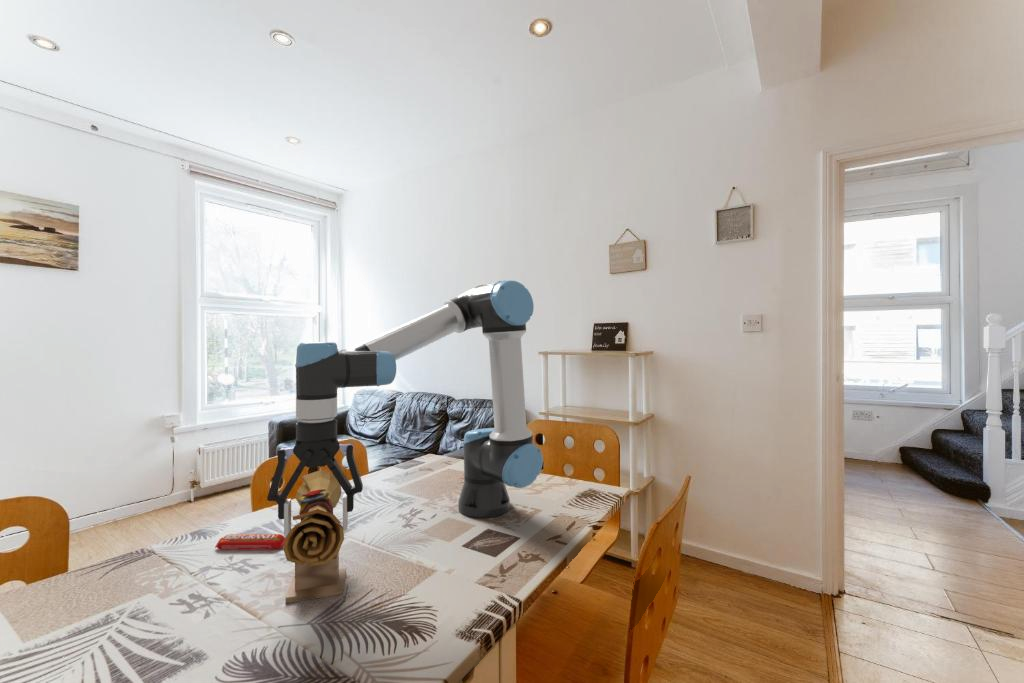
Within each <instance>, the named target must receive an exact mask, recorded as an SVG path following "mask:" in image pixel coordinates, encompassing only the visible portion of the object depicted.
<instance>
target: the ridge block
mask: <svg viewBox="0 0 1024 683" xmlns="http://www.w3.org/2000/svg"><path fill="white" fill-rule="evenodd" d="M339 556H340V552H339V553H338V554H337V555H336V556H335V557H334V558H333V559H331V560H330V561H329V562H328V563H327V564H321V565H314V566H308V563H307V562H304V564H303V565H300V564H296V563H294V575H293V577H292V580H291V583H290V584H289V588H288V591H287V593H286V596H285V604H289V603H296V602H301V601H307V600H313V599H319V598H325V597H330V596H331V597H332V596H337V595H344V588H345V582H346V575H347V568H346V567H343V568H340V567H339V565H340V561H339V558H340V557H339Z"/></svg>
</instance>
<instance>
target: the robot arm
mask: <svg viewBox="0 0 1024 683" xmlns="http://www.w3.org/2000/svg"><path fill="white" fill-rule="evenodd" d="M534 310H535V309H534V301H533V297H532V295H531V293H530V291H529V289H528V288H526V286H525V285H524V284H523V283H520V282H519V281H516V280H499V281H495V282H491V283H487V284H481V285H477V286H475V287H473V288H470V289H468V290H467V291H465V292H462V293H460V294H459V295H457V296H454V297H453V298H450V299H448V300H446V301H445V302H444V303H443V305H442V307H439V308H438V309H435V310H433V311H431V312H428V313H426V314H424V315H422V316H419V317H417V318H415V319H413V320H411V321H409V322H406V323H403V324H402V325H401V324H400V326H398V327H394V328H392V329H391V330H388V331H386V332H383V333H381V334H378V335H376V336H375V337H373V338H370V339H368V340H366V341H363V342H361V343H359V344H356V345H354V346H352V347H350V348H347V349H341V350H339V349H338V344H337V343H336V342H333V341H328V342H327V341H325V342H324V341H321V342H316V341H313V342H312V341H309V342H308V341H305V342H300V343H299V344H298V345H297V346H296V347H297V348H296V356H295V358H296V360H295V365H294V367H295V392H296V393H295V396H296V397H295V418H296V419H297V422H296V423H295V445H294V446H293V447H285V446H283V447H281V448H280V449H279V450H278V451H277V453H276V454H277V465H276V468H275V471H274V474H273V477H272V480H271V483H270V487H269V490H268V494H267V497H266V500H267V501H268V502H275V503H276V504H277V516H278V518H277V519H278V520H283V536H284V538H286V536H287V535H288V533H289V531H290V530H291V529H292V498H287V497H288V496H289V494H290V492H291V491H292V489H293V488H294V486H295V484H296V483H297V481H298V479H299V477H300V476H301V474H302V472H303V471H304V469H305V468H308V469H310V468H314V467H319V468H321V467H322V468H323V467H325V466H326V467H327V468H328V470H329V471H330V472H331V474H332V473H333V475H334V476H335V478H336V479H337V481H338V482H339V484H340V485H341V489H342V490H343V492H344V493H343V496H342V526H343V531H344V532H345V531H348V526H349V512H350V513H351V512H353V510H354V498H355V497H354V496H355V495H356V494H357V493H358V494H359V493H362V491H363V486H364V484H363V481H362V478H361V474H360V471H359V468H358V464H357V462H356V459H355V454H354V449H355V448H354V447H355V446H354V443H353V442H349V443H340V442H339V440H338V419H336V417H337V416H338V389H339V388H341V389H344V388H357V387H358V388H359V387H360V388H361V387H380V386H387V385H391V384H392V383H393V382H394V380H395V378H396V377H397V376H396V375H397V363H396V361H397V360H400V359H401V358H404V357H406V356H408V355H411V354H412V353H414V352H417V351H418V350H420V349H422V348H424V347H427V346H429V345H430V344H433V343H434V342H436V341H439V340H441V339H443V338H446V337H447V336H449V335H452V334H453V333H457V334H461V333H464V332H466V331H468V330H471V329H475V328H482V335H483V336H484V337H485V338H486V339H487V341H488V347H489V350H488V351H489V363H490V377H491V379H490V380H491V394H492V395H491V396H492V411H493V426H494V427H487V428H485V427H484V428H476V429H472V430H468V431H466V432H465V433H464V438H463V459H464V460H463V472H464V473H463V476H464V477H463V478H464V479H463V485H462V488H461V490H460V495H459V498H458V502H457V503H458V504H457V505H458V506H457V508H458V511H459V512H460V514H463V515H464V516H467V517H471V518H480V519H482V518H493V517H497V516H498V517H499V516H501V515H503V514H506V513H507V512H508V511H510V508H511V500H510V496H509V493H508V490H507V487H506V486H508V487H512V488H517V489H524V488H527V487H529V486H531V484H533V483H534V482H535V481H536V480H537V478H538V476H539V475H540V474H541V471H542V467H543V464H544V457H543V452H542V451H541V449H539V447H538V446H537V445H535V444H534V436H533V431H532V430H531V429H530V428H529V427H528V426H527V413H526V401H525V400H526V399H525V385H524V384H525V382H524V381H525V380H524V369H523V368H524V367H523V351H522V350H523V349H522V337H523V336H524V334H526V332H527V323H528V322H529V321H530V319H531V317H533V313H534ZM339 451H341V452H342V455H343V456H345V457H346V458H345V459H346V462H347V466H348V468H349V472H350V475H351V478H352V481H353V486H352V484H351V482H350V480H349V479H348V478H347V476H346V475H345V473H344V472H343V470H342V468H341V467H340V465H339V463H338V461H337V459H336V455H337V453H339ZM293 454H294V455H295V457H296V458H297V460H299V463H298V465H297V467H296V468H295V470H294V472H293V473H292V475H291V477H290V478H289V479H288V482H287V483H286V485H285V487H284V488H283V490H282V492H279V489H280V486H281V483H282V479H283V476H284V472H285V470H286V466H287V463H288V460H289V459H290V458H291V457H292V455H293Z"/></svg>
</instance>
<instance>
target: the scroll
mask: <svg viewBox="0 0 1024 683" xmlns="http://www.w3.org/2000/svg"><path fill="white" fill-rule="evenodd" d="M301 480H302V481H303V482H302V483H301V485H300V486H299V488H298V489H297V490H296V493H295V494H296V495H295V500H296V502H297V503H298V505H299V506H300V508H299V512H298V514H297V515H295V516H292V521H296V520H300V521H299V522H298V523H296V524H294V526H293V527H291V530H290V531H289V533H288V535H287V536H286V538H285V542H284V545H283V547H282V550H283V552H284V556H285V558H286V561H287V562H290V563H294V564H295V563H296V564H300V565H303V564H304V562H307V563H308V566H314V565H321V564H327V563H328V562H329V561H330V560H331V559H333V558H334V557H335V556H336V555H337V554H338V553H339V554H340V550H341V548H342V545H343V542H344V540H345V533H344V532H345V530H344V531H343V524H342V522H341V521H340V520H339V519H338V518H337V516H336V515H335V514H334V509H335V508H336V507H337V505H338V504H339V501H340V498H341V497H342V496H341V495H342V487H341V485H340V484H339V482H338V481H337V479H336V478H335V476H334V475H333V473H332V472H331V471H330V470H329V471H328V470H325V469H319V470H317V471H314V472H311V473H308V474H307V473H306V474H303V475H302V476H301Z"/></svg>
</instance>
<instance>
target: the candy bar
mask: <svg viewBox="0 0 1024 683" xmlns="http://www.w3.org/2000/svg"><path fill="white" fill-rule="evenodd" d="M284 542H285V538H284V534H283V535H282V534H280V533H241V534H239V533H237V534H235V533H234V534H233V533H232V534H227V535H224V536H223V537H221V538H220V539H219V540H218V541H217V543H216V544H215V547H214V548H215V549H216V548H217V549H218V550H219V551H274V550H275V551H276V550H280V548H282V549H283V546H284Z"/></svg>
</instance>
